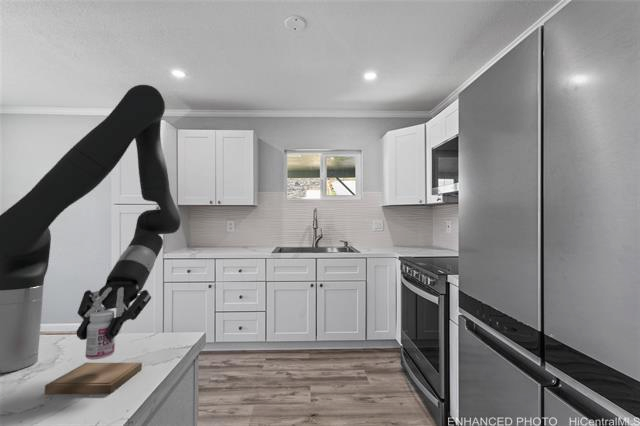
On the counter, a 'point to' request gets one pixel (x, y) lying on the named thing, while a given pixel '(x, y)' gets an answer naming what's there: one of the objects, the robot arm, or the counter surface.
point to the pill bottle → (99, 336)
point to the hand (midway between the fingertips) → (94, 337)
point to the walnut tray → (94, 378)
